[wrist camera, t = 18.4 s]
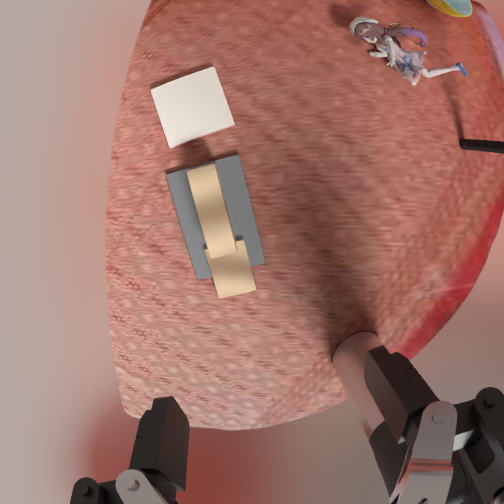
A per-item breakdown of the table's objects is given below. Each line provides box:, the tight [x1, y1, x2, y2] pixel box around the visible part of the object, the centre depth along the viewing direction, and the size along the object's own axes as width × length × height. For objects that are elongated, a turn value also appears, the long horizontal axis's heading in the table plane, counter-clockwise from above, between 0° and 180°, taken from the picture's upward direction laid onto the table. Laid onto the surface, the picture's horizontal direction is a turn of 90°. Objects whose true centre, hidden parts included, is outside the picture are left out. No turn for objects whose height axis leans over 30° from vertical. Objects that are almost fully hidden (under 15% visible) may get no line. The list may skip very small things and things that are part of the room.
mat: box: [166, 155, 265, 280], centre depth 34 cm, size 14×9×1 cm, turn 13°
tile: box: [151, 67, 235, 148], centre depth 29 cm, size 2×8×8 cm
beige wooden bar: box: [186, 163, 256, 299], centre depth 32 cm, size 17×5×4 cm, turn 13°
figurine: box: [349, 17, 468, 85], centre depth 24 cm, size 12×9×15 cm
